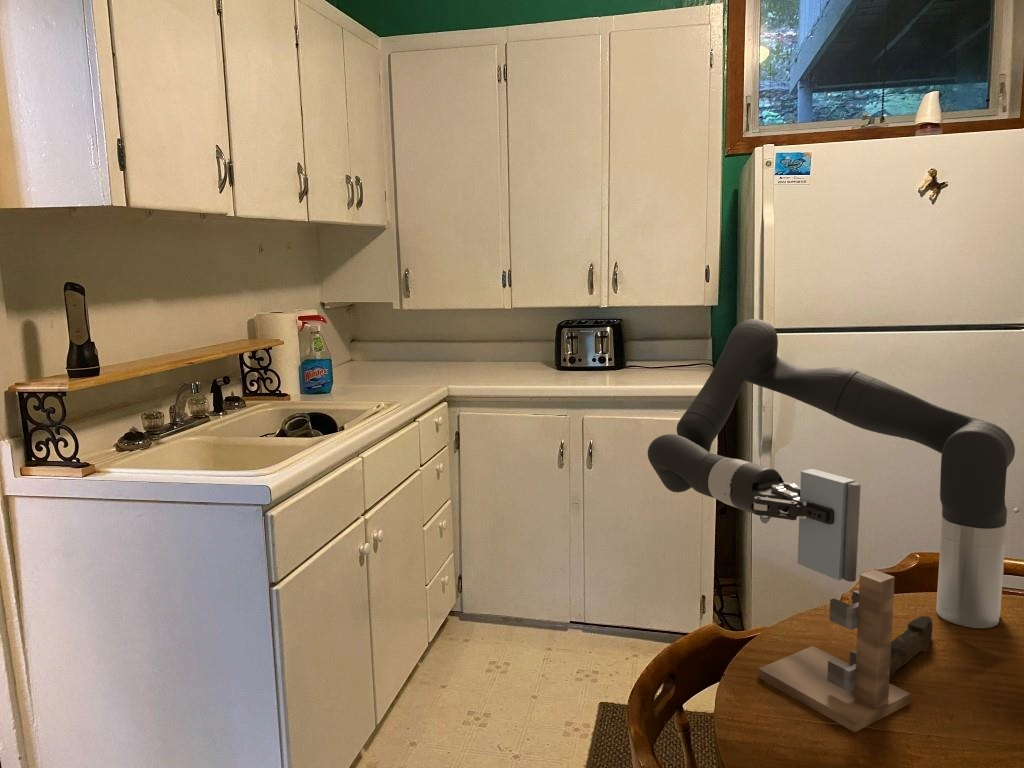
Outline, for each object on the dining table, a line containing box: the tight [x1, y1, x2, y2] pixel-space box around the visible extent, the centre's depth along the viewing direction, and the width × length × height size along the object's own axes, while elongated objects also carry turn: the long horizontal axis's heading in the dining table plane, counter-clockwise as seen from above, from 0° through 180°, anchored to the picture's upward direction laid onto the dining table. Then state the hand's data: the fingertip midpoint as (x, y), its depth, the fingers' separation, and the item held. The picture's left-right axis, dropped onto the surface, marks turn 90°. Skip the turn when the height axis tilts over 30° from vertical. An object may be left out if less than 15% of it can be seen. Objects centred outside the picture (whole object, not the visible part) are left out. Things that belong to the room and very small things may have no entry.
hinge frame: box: [758, 569, 911, 733], centre depth 109 cm, size 12×16×20 cm
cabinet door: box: [797, 468, 862, 583], centre depth 108 cm, size 2×9×14 cm, turn 30°
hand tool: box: [889, 615, 933, 680], centre depth 118 cm, size 19×4×5 cm, turn 127°
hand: (839, 515), depth 107 cm, fingers closed on cabinet door, 2 cm apart
